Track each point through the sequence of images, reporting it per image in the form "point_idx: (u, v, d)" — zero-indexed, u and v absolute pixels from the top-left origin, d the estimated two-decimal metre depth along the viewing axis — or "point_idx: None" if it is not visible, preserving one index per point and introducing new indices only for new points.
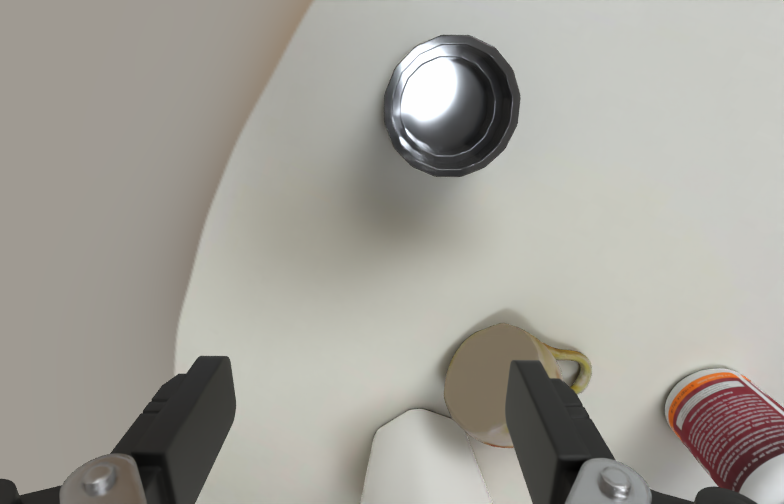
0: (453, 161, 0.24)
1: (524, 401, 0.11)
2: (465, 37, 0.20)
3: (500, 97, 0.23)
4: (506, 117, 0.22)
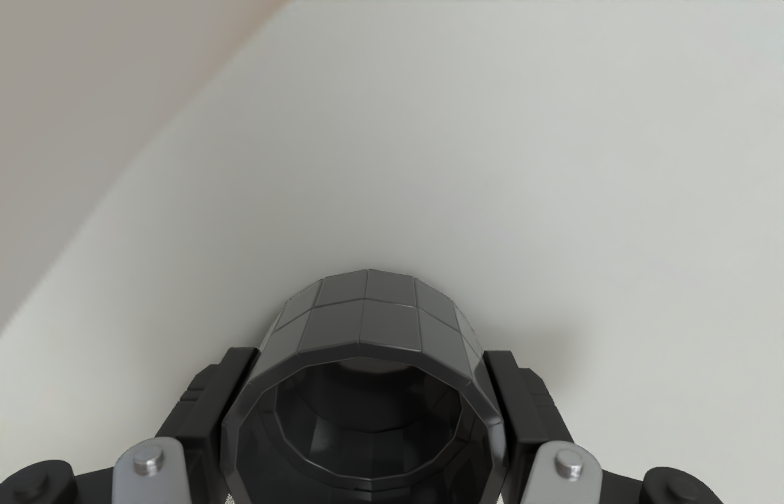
0: (369, 489, 0.13)
1: (493, 389, 0.12)
2: (410, 354, 0.09)
3: (473, 410, 0.12)
4: (476, 471, 0.11)
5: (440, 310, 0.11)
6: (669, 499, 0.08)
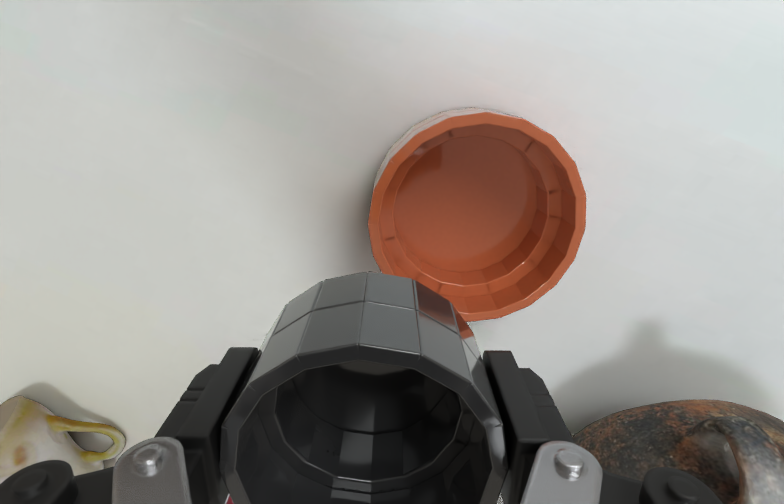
0: (368, 491, 0.13)
1: (493, 390, 0.12)
2: (410, 357, 0.09)
3: (472, 412, 0.12)
4: (475, 473, 0.11)
5: (439, 313, 0.11)
6: (669, 499, 0.08)
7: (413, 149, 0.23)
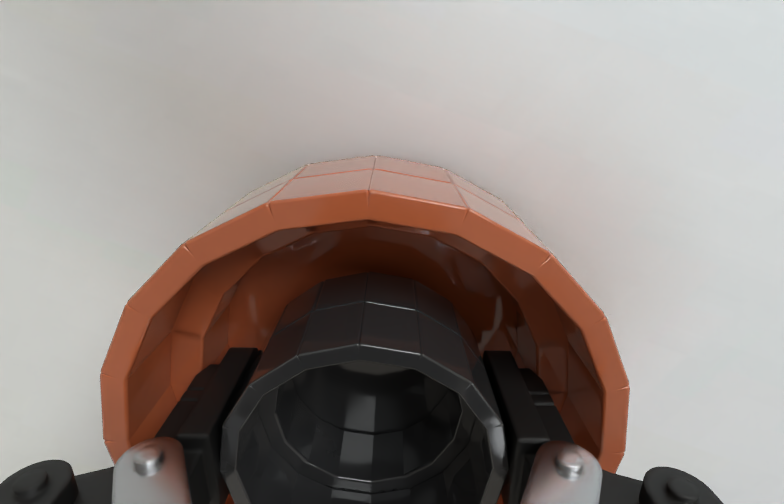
0: (369, 491, 0.13)
1: (493, 389, 0.12)
2: (410, 357, 0.09)
3: (473, 412, 0.12)
4: (476, 473, 0.11)
5: (440, 312, 0.11)
6: (669, 499, 0.08)
7: (181, 281, 0.09)
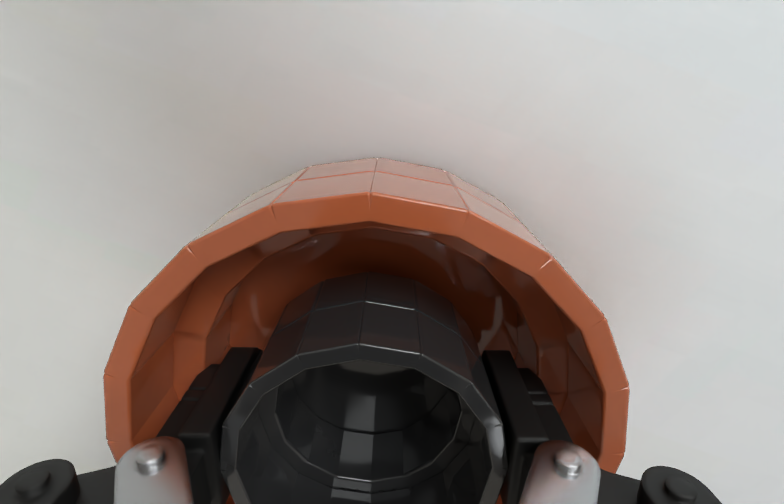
0: (368, 490, 0.13)
1: (492, 389, 0.12)
2: (410, 357, 0.09)
3: (472, 412, 0.12)
4: (475, 473, 0.11)
5: (440, 312, 0.11)
6: (667, 498, 0.08)
7: (184, 282, 0.09)
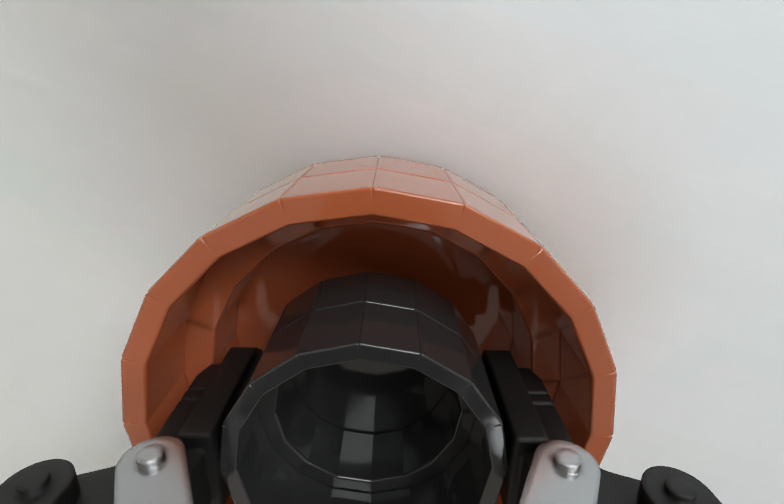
0: (368, 490, 0.13)
1: (492, 389, 0.12)
2: (410, 357, 0.09)
3: (472, 411, 0.12)
4: (475, 473, 0.11)
5: (439, 312, 0.11)
6: (667, 498, 0.08)
7: (198, 272, 0.10)
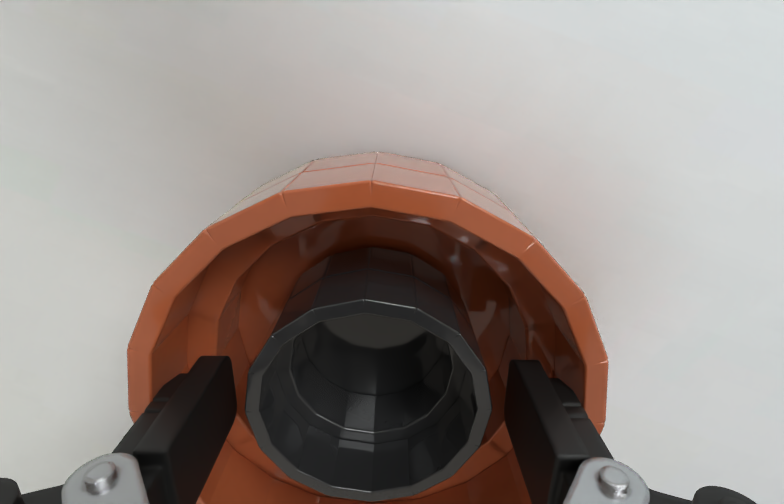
0: (371, 441, 0.14)
1: (523, 400, 0.11)
2: (407, 310, 0.11)
3: (462, 368, 0.13)
4: (464, 418, 0.13)
5: (433, 280, 0.13)
6: None
7: (202, 263, 0.10)
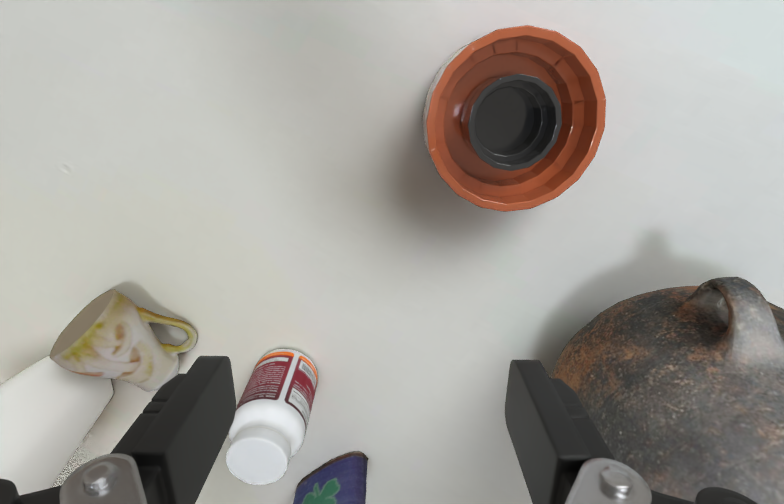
0: (504, 160, 0.33)
1: (524, 401, 0.11)
2: (534, 78, 0.30)
3: (545, 121, 0.32)
4: (548, 136, 0.32)
5: None
6: None
7: (466, 57, 0.29)
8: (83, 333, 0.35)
